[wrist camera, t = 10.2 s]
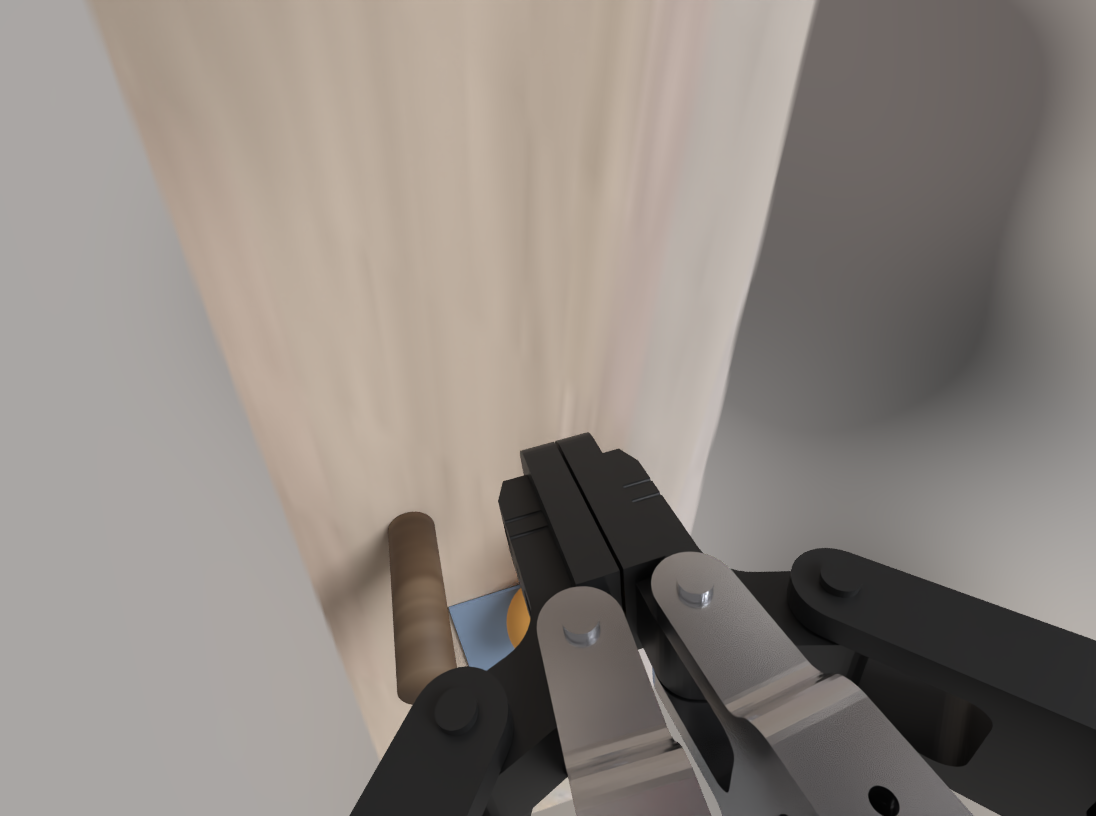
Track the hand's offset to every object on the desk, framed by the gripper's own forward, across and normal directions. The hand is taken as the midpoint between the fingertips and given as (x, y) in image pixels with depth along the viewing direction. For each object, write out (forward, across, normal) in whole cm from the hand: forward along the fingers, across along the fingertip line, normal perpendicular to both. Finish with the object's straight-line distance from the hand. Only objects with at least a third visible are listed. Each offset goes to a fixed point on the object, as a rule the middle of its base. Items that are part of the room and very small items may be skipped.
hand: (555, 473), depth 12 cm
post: (+14, +6, +13) cm, 20 cm away
